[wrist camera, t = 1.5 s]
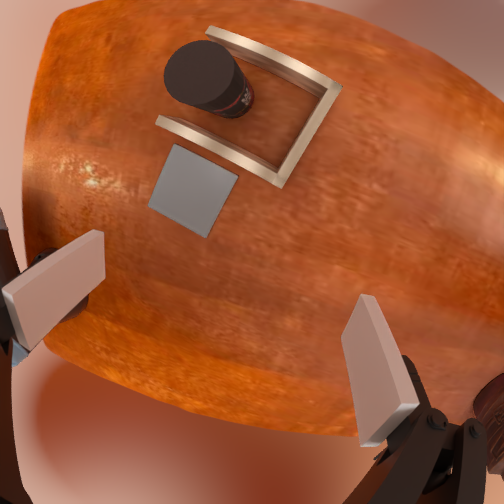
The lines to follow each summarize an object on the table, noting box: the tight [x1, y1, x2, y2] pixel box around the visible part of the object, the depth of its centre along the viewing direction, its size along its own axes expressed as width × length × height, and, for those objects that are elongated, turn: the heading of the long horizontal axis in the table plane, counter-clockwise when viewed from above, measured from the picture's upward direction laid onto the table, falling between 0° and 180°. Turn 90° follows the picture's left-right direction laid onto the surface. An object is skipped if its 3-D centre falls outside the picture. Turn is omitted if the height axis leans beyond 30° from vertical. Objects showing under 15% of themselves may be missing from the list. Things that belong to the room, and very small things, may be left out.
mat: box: [148, 143, 239, 238], centre depth 37 cm, size 10×10×1 cm
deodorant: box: [164, 40, 254, 118], centre depth 25 cm, size 6×6×15 cm
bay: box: [155, 25, 343, 189], centre depth 29 cm, size 16×13×7 cm
